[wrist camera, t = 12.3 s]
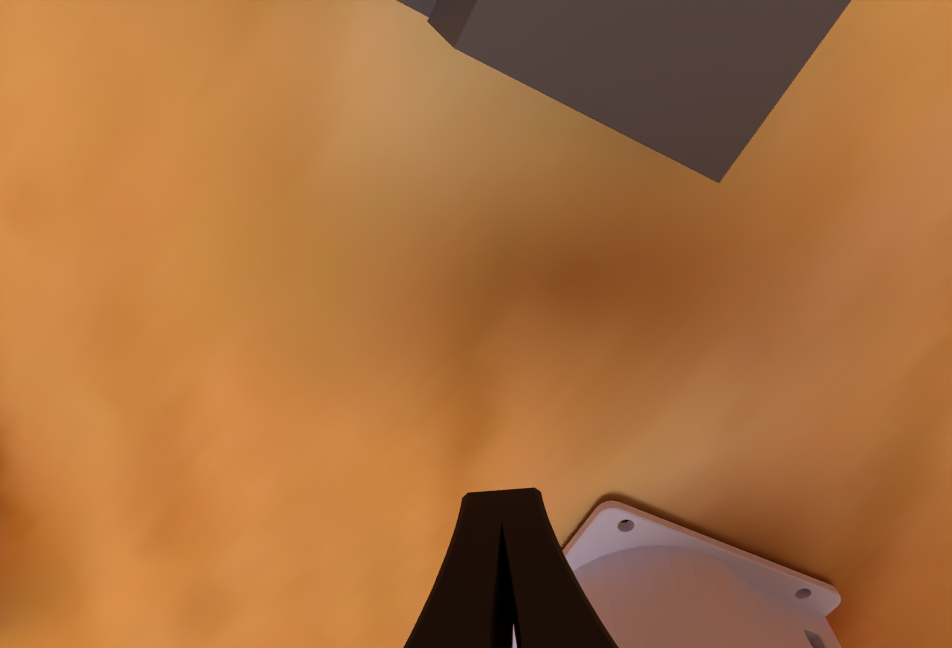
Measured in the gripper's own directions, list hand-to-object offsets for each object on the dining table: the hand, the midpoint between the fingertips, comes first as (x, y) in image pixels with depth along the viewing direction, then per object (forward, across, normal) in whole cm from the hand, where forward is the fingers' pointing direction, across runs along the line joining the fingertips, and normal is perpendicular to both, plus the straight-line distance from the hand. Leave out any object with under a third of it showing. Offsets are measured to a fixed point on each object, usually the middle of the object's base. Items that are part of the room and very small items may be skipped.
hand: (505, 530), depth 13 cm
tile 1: (+6, -6, -6) cm, 11 cm away
